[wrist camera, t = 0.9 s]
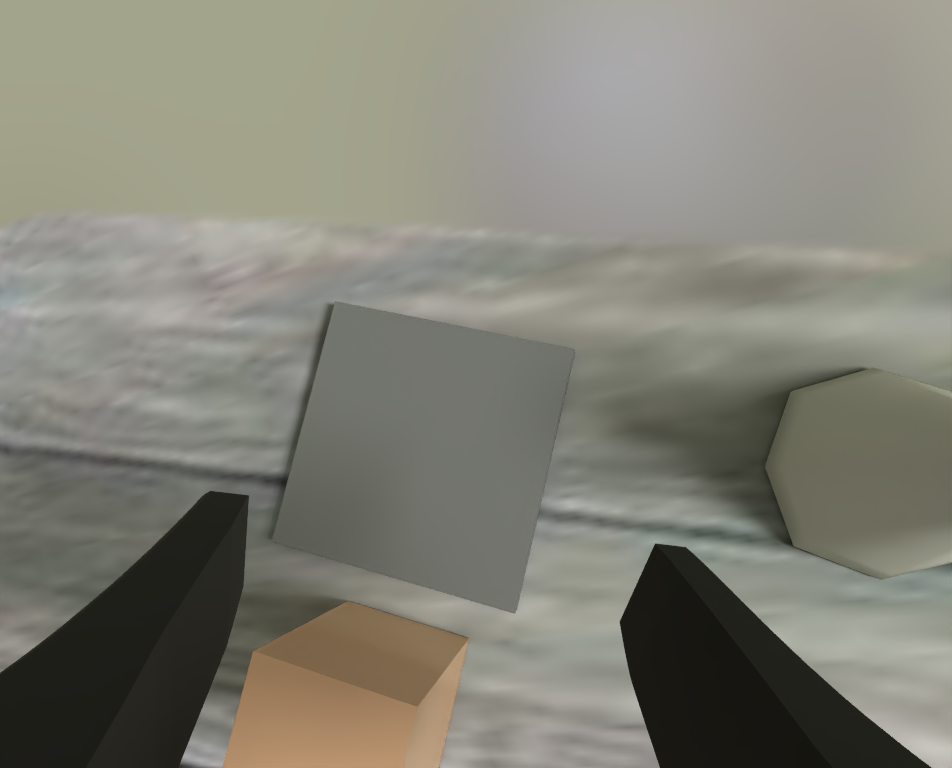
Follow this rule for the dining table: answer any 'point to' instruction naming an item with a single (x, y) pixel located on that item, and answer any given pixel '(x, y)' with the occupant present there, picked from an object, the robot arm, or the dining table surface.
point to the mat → (426, 452)
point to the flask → (867, 472)
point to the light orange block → (349, 694)
